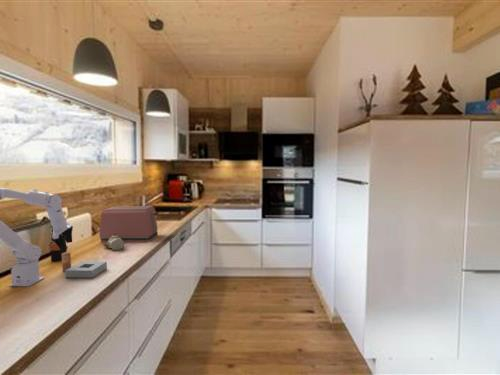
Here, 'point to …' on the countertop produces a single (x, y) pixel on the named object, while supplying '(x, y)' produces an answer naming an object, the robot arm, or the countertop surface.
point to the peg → (66, 261)
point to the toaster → (129, 223)
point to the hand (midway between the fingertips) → (66, 245)
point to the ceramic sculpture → (114, 242)
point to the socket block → (86, 270)
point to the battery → (56, 252)
